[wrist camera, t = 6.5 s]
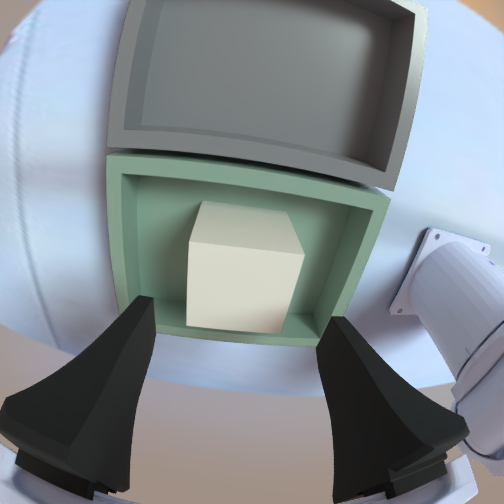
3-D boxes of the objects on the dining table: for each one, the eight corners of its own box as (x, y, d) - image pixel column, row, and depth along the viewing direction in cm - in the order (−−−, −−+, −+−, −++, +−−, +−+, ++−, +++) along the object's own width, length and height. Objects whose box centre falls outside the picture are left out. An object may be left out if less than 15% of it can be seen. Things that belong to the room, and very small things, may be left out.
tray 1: (398, 20, 10) (428, 10, 7) (367, 174, 15) (393, 191, 12) (164, -29, 8) (149, -52, 5) (131, 137, 13) (106, 147, 10)
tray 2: (365, 180, 15) (390, 198, 12) (316, 315, 20) (326, 346, 17) (130, 144, 13) (106, 155, 10) (134, 295, 18) (121, 326, 16)
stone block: (286, 211, 15) (305, 254, 11) (270, 279, 17) (280, 333, 13) (202, 200, 14) (189, 241, 10) (196, 271, 17) (186, 325, 13)
